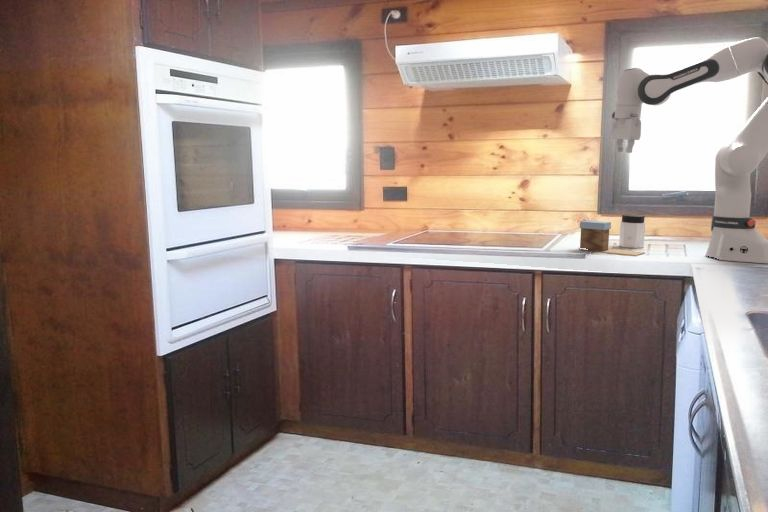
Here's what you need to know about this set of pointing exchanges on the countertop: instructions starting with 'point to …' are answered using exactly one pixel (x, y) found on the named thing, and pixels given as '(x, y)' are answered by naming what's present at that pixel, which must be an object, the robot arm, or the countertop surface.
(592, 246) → the box
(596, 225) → the lid
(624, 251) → the mat
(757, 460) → the countertop surface
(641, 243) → the jar
